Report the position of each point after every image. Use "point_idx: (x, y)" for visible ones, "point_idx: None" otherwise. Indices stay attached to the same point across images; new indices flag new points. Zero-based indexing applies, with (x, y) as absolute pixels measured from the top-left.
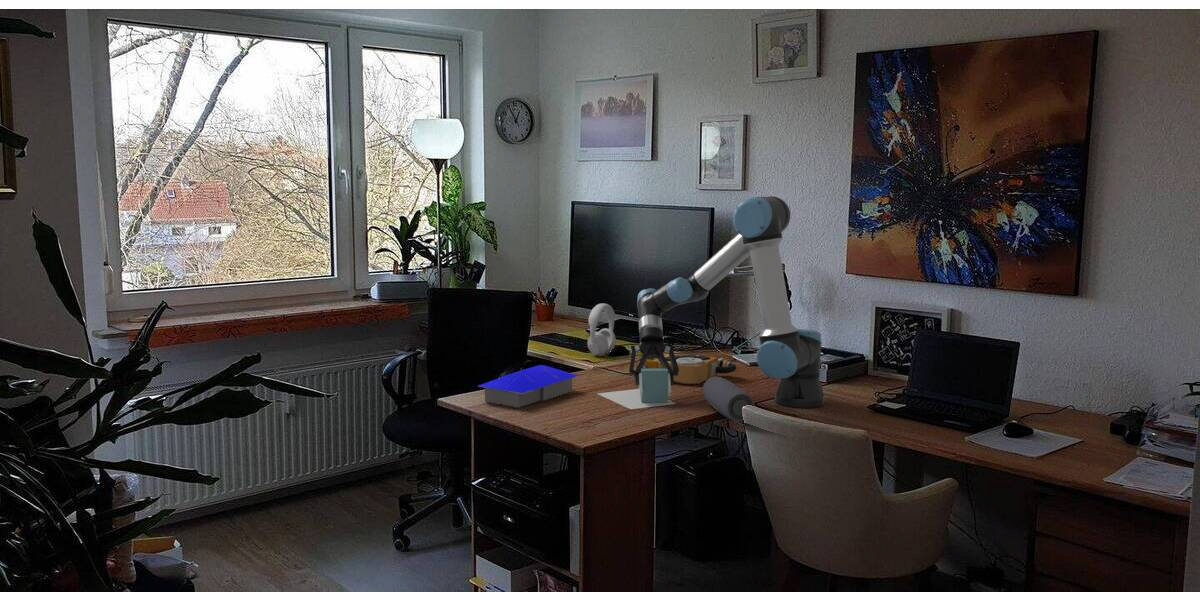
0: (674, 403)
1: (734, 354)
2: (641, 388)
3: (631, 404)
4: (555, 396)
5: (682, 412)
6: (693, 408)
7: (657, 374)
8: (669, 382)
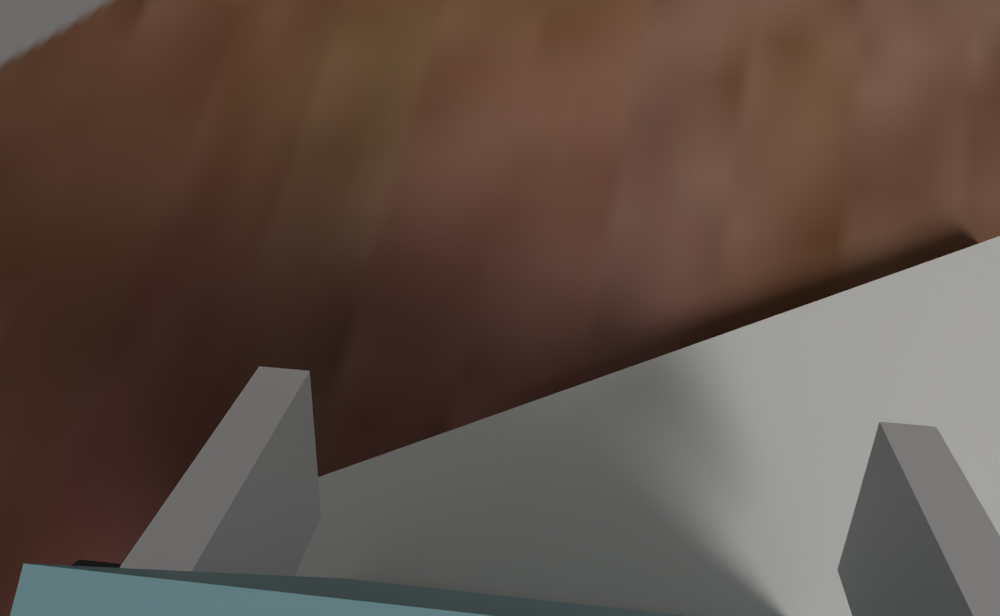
0: None
1: None
2: (926, 467)
3: None
4: None
5: (265, 135)
6: (42, 323)
7: (490, 609)
8: (187, 512)
